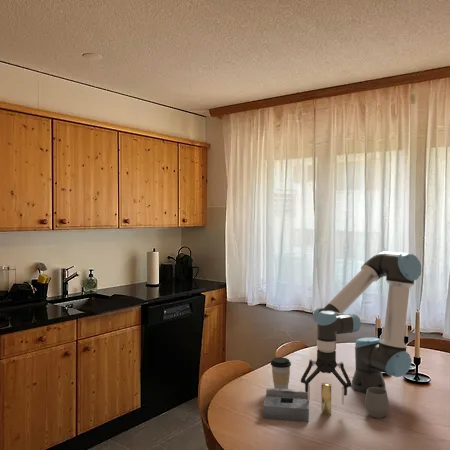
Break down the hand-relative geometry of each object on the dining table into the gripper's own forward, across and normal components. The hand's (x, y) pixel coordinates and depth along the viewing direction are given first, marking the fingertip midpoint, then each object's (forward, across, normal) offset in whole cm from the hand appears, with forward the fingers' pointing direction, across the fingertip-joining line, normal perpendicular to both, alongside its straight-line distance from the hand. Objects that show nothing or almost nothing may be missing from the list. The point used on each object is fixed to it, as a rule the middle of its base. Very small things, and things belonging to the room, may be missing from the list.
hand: (325, 401), depth 183 cm
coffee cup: (+6, +20, -19) cm, 28 cm away
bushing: (+5, 0, 0) cm, 5 cm away
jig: (+5, +16, +2) cm, 17 cm away
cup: (+5, -20, -2) cm, 21 cm away
